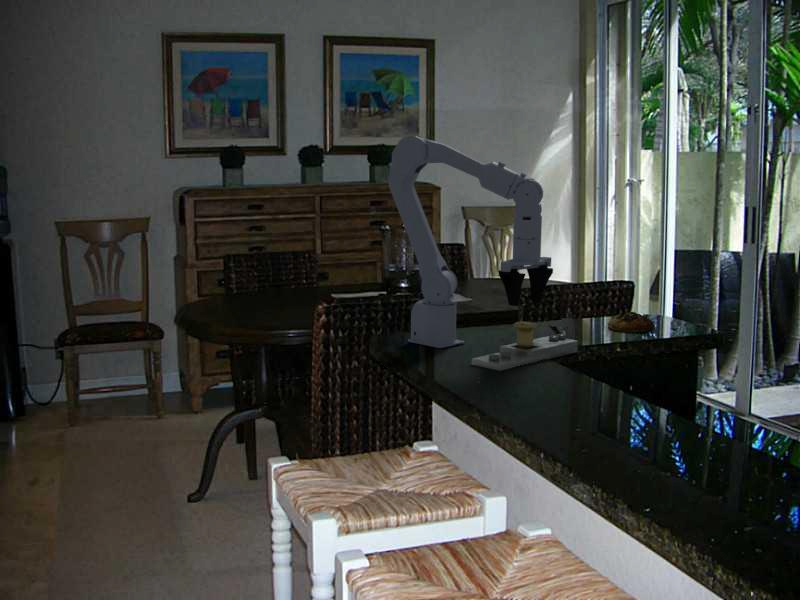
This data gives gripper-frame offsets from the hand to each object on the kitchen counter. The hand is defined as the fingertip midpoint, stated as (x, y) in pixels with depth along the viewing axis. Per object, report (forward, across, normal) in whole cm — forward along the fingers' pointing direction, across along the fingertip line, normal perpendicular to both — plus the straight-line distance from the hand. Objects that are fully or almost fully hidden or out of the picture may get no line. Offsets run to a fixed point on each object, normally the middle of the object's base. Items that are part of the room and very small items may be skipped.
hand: (525, 303), depth 197 cm
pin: (+9, -8, -6) cm, 14 cm away
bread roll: (+10, +36, -3) cm, 38 cm away
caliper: (+10, +20, +5) cm, 23 cm away
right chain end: (+9, -3, -6) cm, 12 cm away
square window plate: (+9, -12, -6) cm, 17 cm away
